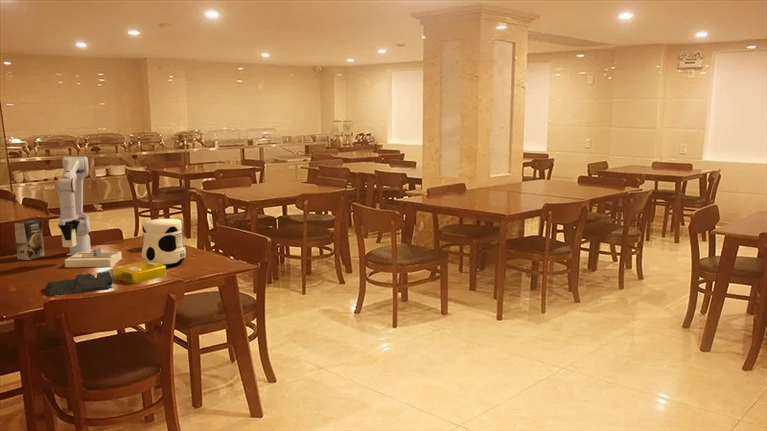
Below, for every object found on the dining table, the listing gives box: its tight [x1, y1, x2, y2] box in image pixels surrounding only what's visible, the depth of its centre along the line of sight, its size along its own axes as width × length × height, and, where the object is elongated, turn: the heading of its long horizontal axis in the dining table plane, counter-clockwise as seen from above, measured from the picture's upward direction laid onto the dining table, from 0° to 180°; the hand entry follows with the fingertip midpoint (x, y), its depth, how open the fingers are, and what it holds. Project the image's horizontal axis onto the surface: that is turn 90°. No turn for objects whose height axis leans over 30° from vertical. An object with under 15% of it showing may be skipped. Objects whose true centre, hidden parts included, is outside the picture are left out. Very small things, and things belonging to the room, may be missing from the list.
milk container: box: [141, 218, 187, 267], centre depth 259 cm, size 17×17×18 cm
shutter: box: [92, 247, 115, 257], centre depth 262 cm, size 6×6×3 cm
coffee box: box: [13, 219, 45, 261], centre depth 270 cm, size 9×6×16 cm
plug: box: [60, 229, 77, 248], centre depth 262 cm, size 4×4×7 cm
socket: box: [64, 251, 123, 268], centre depth 262 cm, size 14×18×4 cm
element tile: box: [112, 260, 167, 284], centre depth 241 cm, size 15×15×5 cm
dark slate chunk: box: [44, 271, 114, 297], centre depth 225 cm, size 15×22×5 cm
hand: (70, 239), depth 262 cm, fingers closed on plug, 4 cm apart
